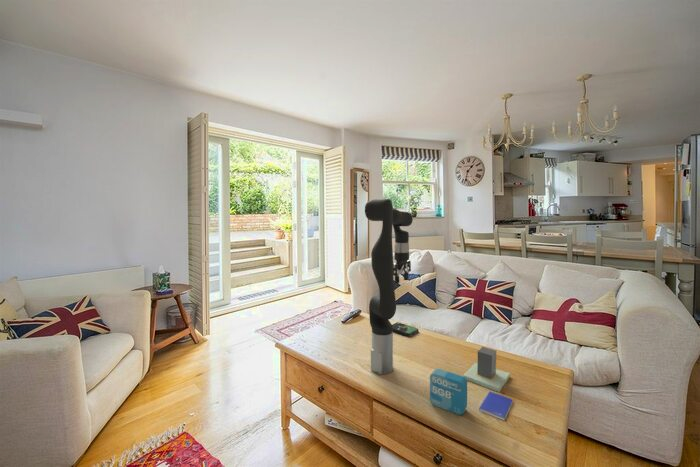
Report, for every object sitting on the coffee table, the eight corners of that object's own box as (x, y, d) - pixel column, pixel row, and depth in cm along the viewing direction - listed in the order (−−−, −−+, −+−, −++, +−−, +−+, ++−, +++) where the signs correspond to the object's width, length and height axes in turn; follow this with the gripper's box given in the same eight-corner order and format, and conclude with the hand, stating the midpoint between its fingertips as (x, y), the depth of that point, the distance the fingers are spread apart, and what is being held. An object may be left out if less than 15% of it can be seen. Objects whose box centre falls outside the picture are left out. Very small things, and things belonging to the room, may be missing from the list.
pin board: (499, 392, 115) (499, 383, 115) (463, 378, 125) (463, 370, 125) (509, 376, 126) (509, 368, 125) (475, 365, 135) (475, 357, 135)
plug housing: (491, 379, 121) (492, 355, 120) (477, 374, 125) (477, 351, 124) (495, 373, 125) (496, 350, 125) (482, 369, 129) (482, 346, 128)
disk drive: (387, 331, 175) (409, 338, 165) (387, 327, 175) (409, 333, 165) (397, 326, 183) (418, 332, 173) (397, 321, 183) (418, 327, 173)
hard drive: (504, 417, 100) (512, 399, 110) (478, 407, 105) (488, 390, 115) (504, 422, 100) (512, 403, 110) (478, 411, 105) (488, 394, 115)
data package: (429, 403, 109) (429, 372, 108) (434, 397, 113) (434, 366, 112) (463, 416, 102) (463, 383, 101) (467, 409, 106) (467, 377, 105)
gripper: (403, 249, 163) (402, 278, 165) (387, 251, 153) (387, 283, 154) (415, 250, 158) (414, 280, 160) (400, 253, 148) (400, 285, 149)
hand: (401, 281), depth 157 cm, fingers open, 8 cm apart
